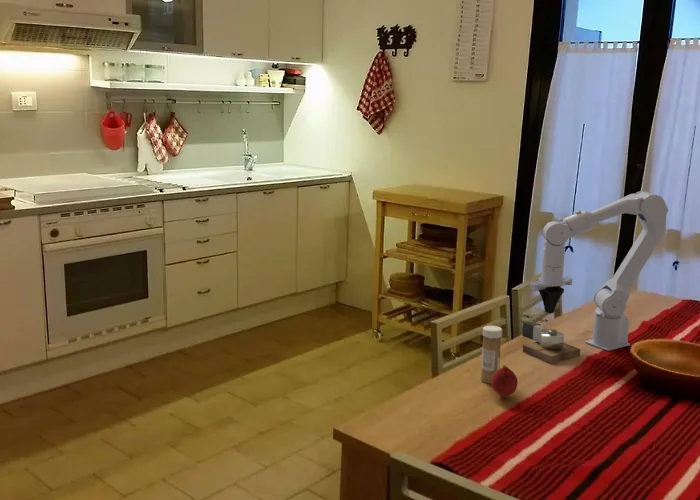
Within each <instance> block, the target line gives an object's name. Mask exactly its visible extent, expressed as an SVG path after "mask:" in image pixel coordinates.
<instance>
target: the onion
mask: <svg viewBox="0 0 700 500" xmlns="http://www.w3.org/2000/svg"><path fill="white" fill-rule="evenodd" d="M490 385H491V387H492V388H493V390H494V391H495V392H496V393H497V394H498V395H499V396H500V397H501V398H503V399H505V398H507V397H508V396H511V395H512V394H513V393H515V392H516V390H517V388H518V378H517V375H516V374H515V373H514V371H513V370H511V369H510V368H509V367H508V366H507V365H506V364H505V363H502V367H500V369H499V370H497V371H496V372H495V373H494V375H493V377H492V380H491V384H490Z"/></svg>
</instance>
